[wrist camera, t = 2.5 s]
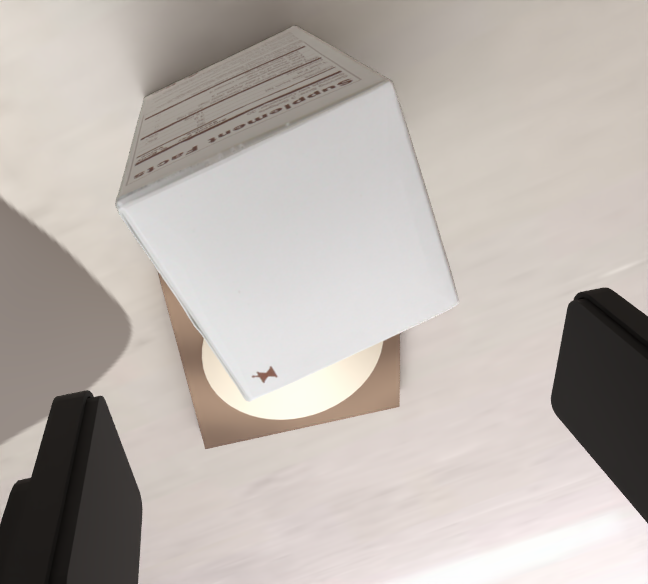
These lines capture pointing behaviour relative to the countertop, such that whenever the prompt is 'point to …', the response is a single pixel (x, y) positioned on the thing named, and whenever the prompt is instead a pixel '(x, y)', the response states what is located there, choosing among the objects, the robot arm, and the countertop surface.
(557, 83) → the countertop surface
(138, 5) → the countertop surface
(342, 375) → the board
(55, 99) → the countertop surface
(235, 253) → the supplement box
